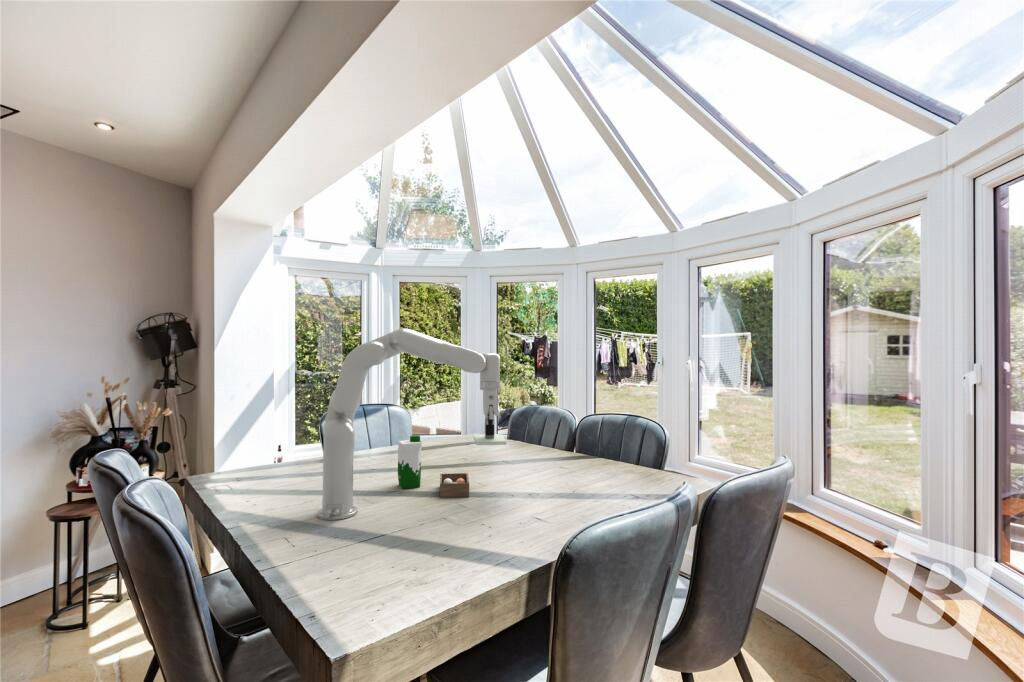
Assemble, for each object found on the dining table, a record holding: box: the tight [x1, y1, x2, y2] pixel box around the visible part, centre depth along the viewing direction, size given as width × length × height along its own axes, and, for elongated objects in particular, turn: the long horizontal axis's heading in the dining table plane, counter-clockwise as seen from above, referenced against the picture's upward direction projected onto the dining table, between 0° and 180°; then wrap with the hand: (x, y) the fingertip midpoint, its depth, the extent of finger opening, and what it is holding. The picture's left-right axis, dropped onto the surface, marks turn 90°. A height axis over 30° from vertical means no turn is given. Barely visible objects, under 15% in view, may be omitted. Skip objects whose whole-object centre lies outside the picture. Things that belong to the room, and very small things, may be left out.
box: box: [439, 472, 470, 498], centre depth 184 cm, size 15×11×5 cm
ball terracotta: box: [456, 478, 465, 483], centre depth 187 cm, size 4×4×4 cm
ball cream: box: [443, 478, 452, 484], centre depth 187 cm, size 4×4×4 cm
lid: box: [473, 418, 507, 446], centre depth 178 cm, size 15×11×8 cm
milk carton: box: [397, 434, 423, 490], centre depth 191 cm, size 9×9×20 cm
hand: (489, 433), depth 178 cm, fingers closed on lid, 3 cm apart
